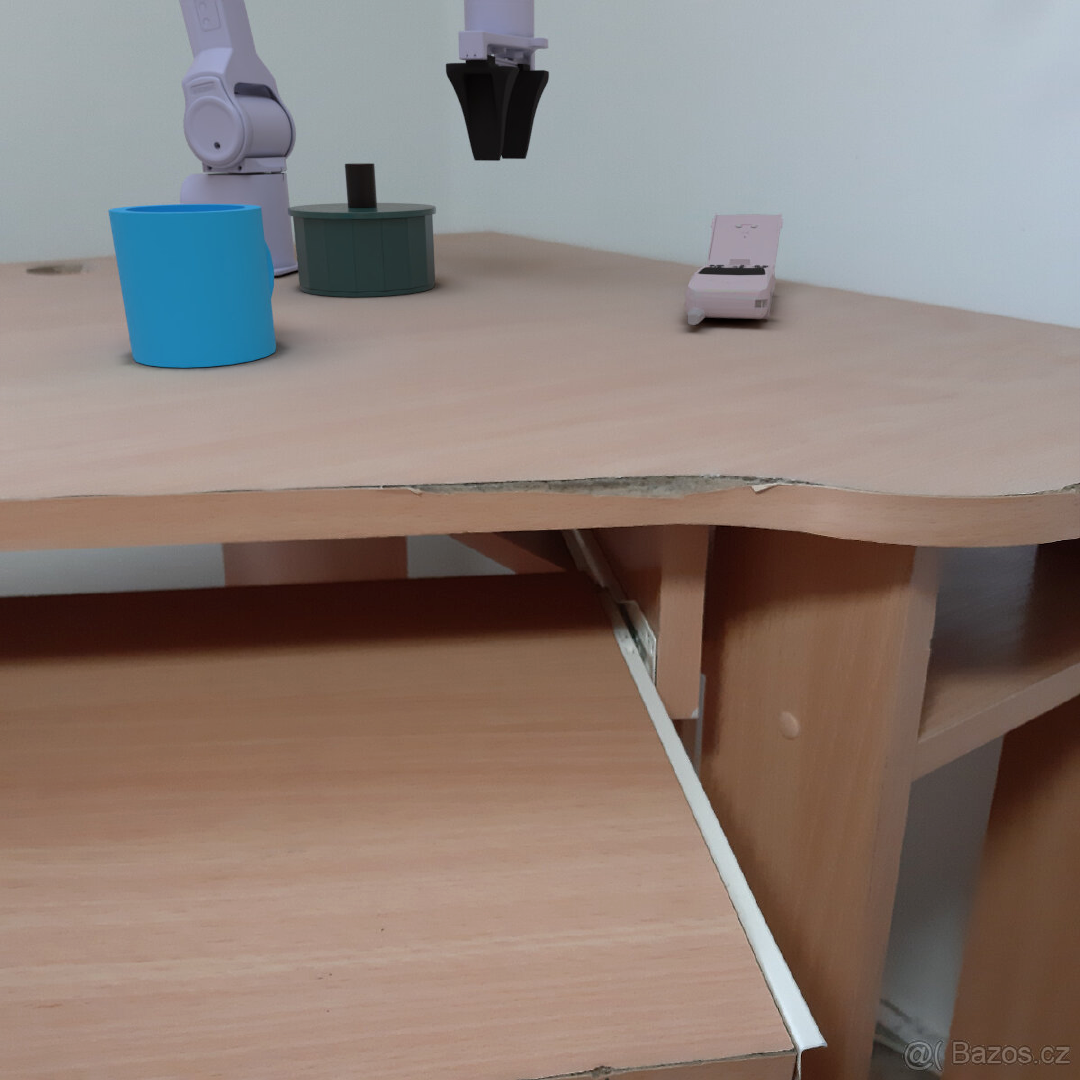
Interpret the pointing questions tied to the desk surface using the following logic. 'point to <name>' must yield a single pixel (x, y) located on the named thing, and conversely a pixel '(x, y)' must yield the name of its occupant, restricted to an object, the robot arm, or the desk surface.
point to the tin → (365, 256)
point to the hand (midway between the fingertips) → (501, 159)
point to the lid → (361, 200)
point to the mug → (195, 283)
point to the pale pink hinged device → (736, 269)
